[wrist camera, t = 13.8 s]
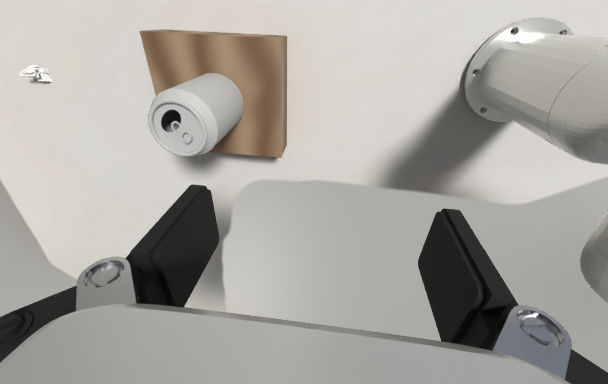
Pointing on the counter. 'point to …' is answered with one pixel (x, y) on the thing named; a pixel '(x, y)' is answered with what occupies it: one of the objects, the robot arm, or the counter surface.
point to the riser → (238, 68)
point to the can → (195, 114)
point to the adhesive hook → (36, 73)
